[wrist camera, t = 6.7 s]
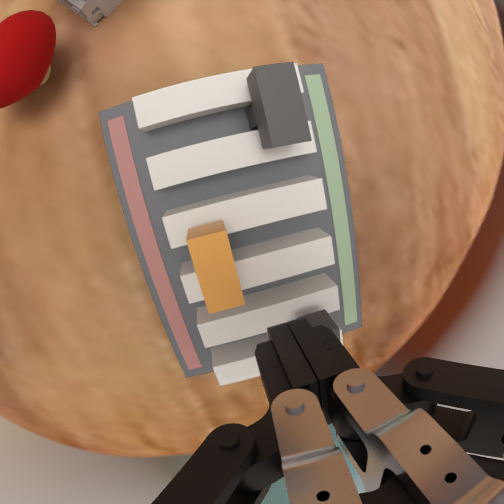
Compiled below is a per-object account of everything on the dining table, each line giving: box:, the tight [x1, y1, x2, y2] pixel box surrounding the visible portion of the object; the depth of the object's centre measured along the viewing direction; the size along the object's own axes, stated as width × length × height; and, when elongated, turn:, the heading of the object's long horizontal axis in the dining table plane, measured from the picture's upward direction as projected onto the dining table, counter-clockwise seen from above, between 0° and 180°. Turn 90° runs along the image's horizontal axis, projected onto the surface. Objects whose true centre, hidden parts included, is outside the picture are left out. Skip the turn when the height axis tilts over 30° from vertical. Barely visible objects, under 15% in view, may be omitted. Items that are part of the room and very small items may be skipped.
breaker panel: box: [99, 62, 362, 386], centre depth 24 cm, size 19×26×10 cm
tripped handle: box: [186, 220, 246, 314], centre depth 22 cm, size 2×5×7 cm, turn 13°
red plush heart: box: [0, 10, 56, 108], centre depth 16 cm, size 9×7×10 cm
